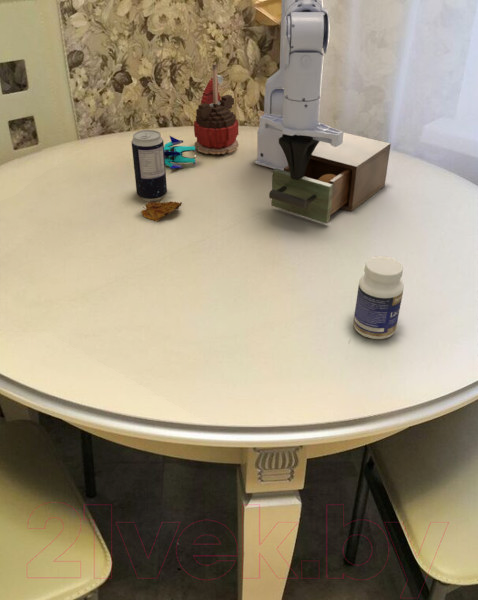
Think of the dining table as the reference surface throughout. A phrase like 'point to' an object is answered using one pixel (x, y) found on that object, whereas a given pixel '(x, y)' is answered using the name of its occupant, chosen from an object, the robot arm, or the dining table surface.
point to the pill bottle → (379, 298)
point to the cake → (215, 120)
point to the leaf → (159, 209)
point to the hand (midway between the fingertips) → (297, 177)
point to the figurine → (177, 153)
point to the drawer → (311, 190)
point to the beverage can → (149, 165)
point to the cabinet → (357, 164)
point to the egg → (326, 178)
